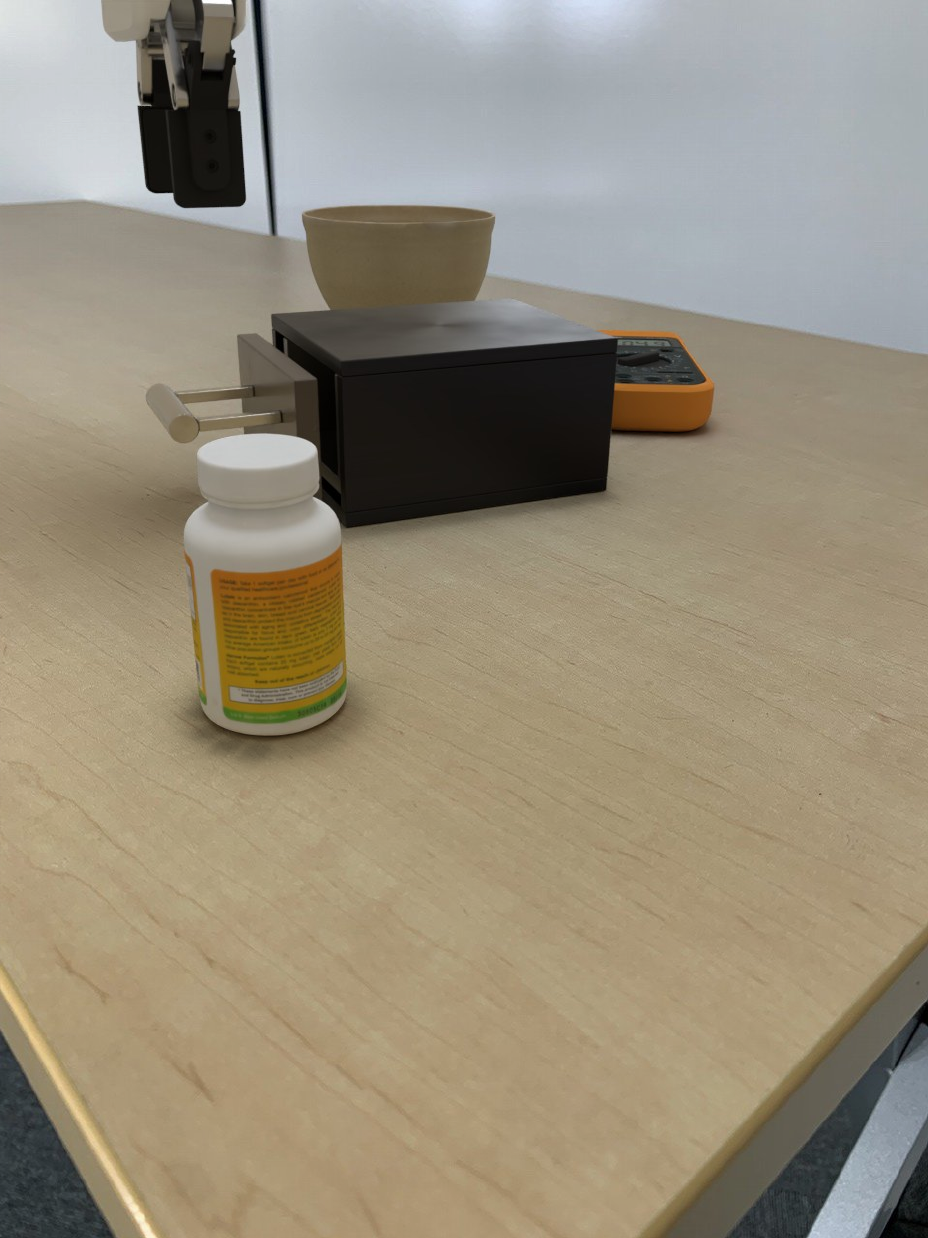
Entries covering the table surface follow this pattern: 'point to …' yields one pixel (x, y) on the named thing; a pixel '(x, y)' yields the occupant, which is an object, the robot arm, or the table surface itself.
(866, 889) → the table surface
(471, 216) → the planter bowl
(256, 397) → the sliding drawer
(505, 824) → the table surface
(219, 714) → the supplement bottle
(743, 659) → the table surface
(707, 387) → the multimeter
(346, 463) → the dark drawer cabinet
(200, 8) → the robot arm
